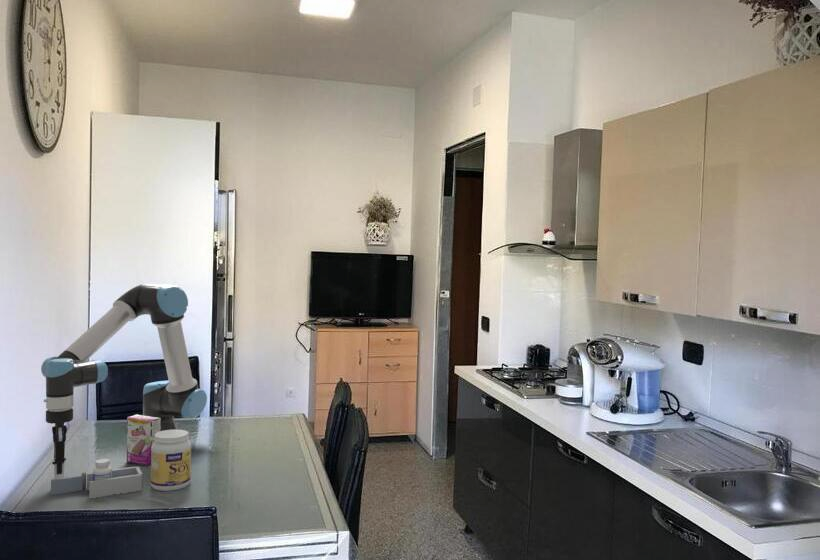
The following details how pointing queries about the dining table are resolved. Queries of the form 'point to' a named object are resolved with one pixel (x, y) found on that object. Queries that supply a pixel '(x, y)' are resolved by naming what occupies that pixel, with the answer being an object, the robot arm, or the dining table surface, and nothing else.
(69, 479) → the cover flap
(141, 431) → the candy bar box
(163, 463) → the supplement tub
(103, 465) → the pill bottle
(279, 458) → the dining table surface
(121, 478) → the open rectangular tray
